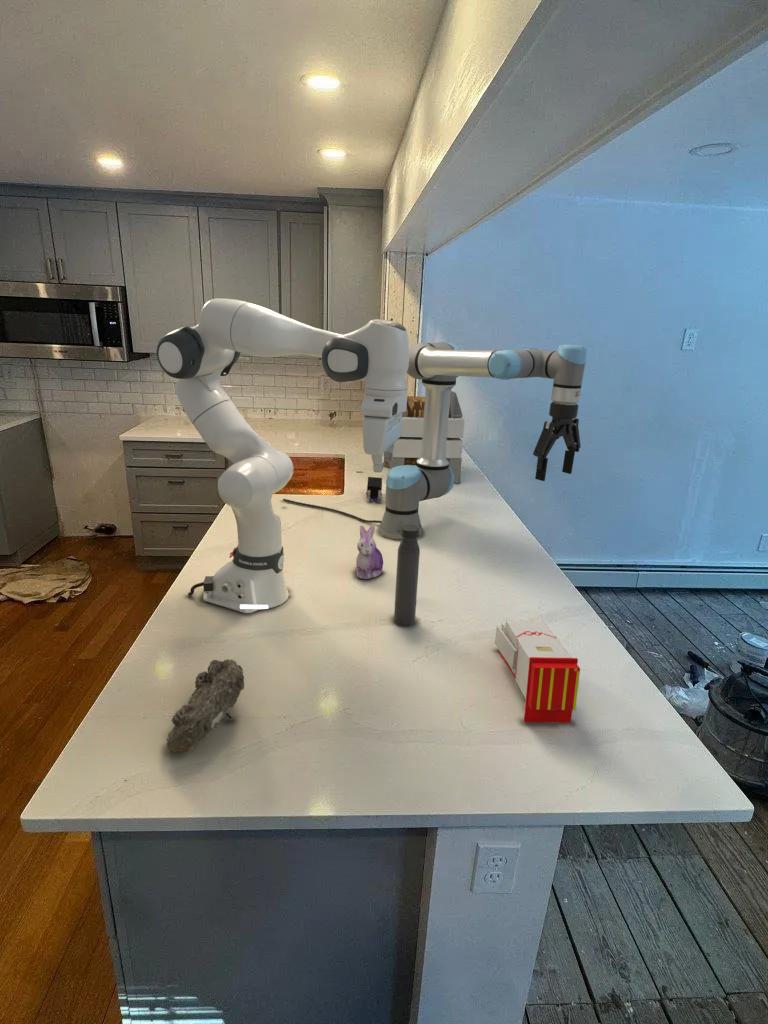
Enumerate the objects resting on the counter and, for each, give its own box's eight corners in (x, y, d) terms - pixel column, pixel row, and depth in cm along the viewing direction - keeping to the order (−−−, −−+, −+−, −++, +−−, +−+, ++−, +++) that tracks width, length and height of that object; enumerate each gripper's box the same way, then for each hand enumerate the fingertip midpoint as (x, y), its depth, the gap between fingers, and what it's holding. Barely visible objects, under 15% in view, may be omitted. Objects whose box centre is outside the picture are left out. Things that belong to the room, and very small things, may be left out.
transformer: (382, 463, 289) (386, 382, 275) (445, 464, 293) (451, 384, 279) (390, 482, 257) (394, 392, 243) (460, 483, 261) (468, 394, 247)
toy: (541, 605, 135) (589, 664, 106) (536, 657, 138) (581, 729, 108) (490, 604, 135) (524, 663, 105) (486, 656, 137) (518, 728, 108)
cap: (422, 537, 136) (422, 530, 135) (404, 539, 134) (405, 531, 133) (414, 531, 139) (415, 523, 139) (397, 532, 138) (398, 525, 137)
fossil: (192, 660, 117) (244, 628, 112) (224, 691, 120) (276, 661, 115) (142, 746, 98) (202, 712, 93) (182, 779, 101) (242, 748, 96)
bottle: (418, 623, 143) (424, 532, 135) (398, 627, 141) (404, 534, 133) (409, 613, 148) (415, 524, 139) (390, 616, 146) (395, 526, 138)
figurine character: (382, 507, 229) (381, 492, 243) (383, 490, 226) (382, 475, 239) (365, 506, 229) (366, 491, 242) (366, 489, 226) (366, 475, 239)
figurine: (361, 582, 163) (363, 534, 158) (347, 568, 171) (348, 522, 166) (390, 577, 167) (393, 529, 162) (375, 563, 176) (377, 518, 170)
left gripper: (382, 394, 128) (380, 453, 133) (357, 408, 110) (356, 476, 114) (410, 396, 127) (407, 456, 132) (389, 410, 108) (386, 479, 113)
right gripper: (550, 408, 147) (539, 486, 154) (600, 401, 162) (588, 472, 170) (526, 403, 152) (516, 479, 159) (577, 397, 168) (566, 467, 175)
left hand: (383, 466), depth 123 cm, fingers open, 8 cm apart
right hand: (553, 476), depth 165 cm, fingers open, 13 cm apart
